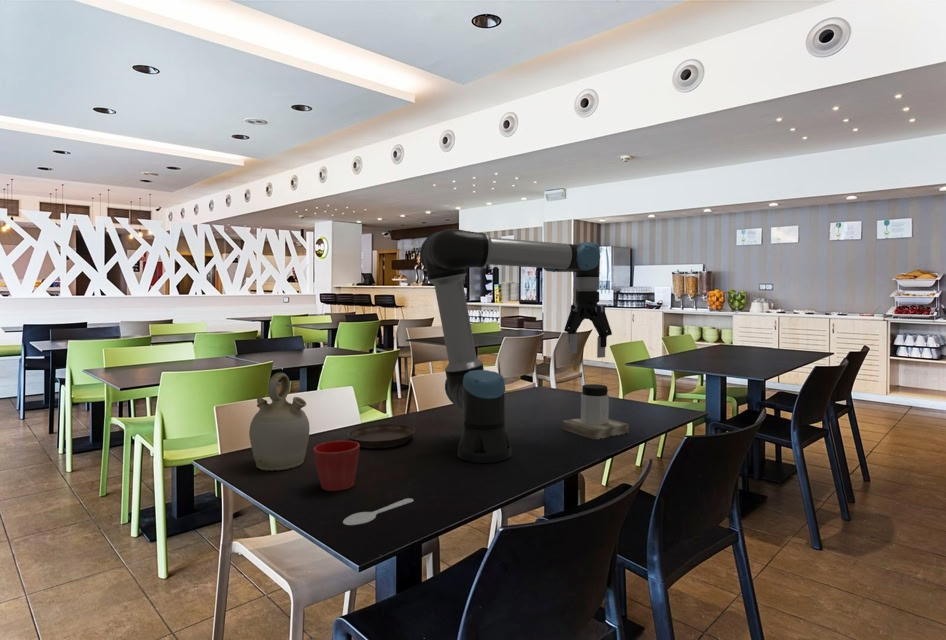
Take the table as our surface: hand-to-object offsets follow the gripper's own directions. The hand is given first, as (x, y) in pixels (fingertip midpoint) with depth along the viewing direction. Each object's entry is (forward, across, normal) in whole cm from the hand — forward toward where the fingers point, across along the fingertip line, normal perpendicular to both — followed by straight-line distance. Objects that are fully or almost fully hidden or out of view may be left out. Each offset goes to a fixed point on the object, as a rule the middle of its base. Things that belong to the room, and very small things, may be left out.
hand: (586, 355), depth 182 cm
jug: (+26, +17, +94) cm, 99 cm away
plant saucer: (+26, +24, +62) cm, 72 cm away
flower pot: (+26, -8, +86) cm, 90 cm away
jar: (+22, -2, -2) cm, 22 cm away
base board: (+25, -2, -2) cm, 25 cm away
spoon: (+27, -28, +82) cm, 91 cm away
